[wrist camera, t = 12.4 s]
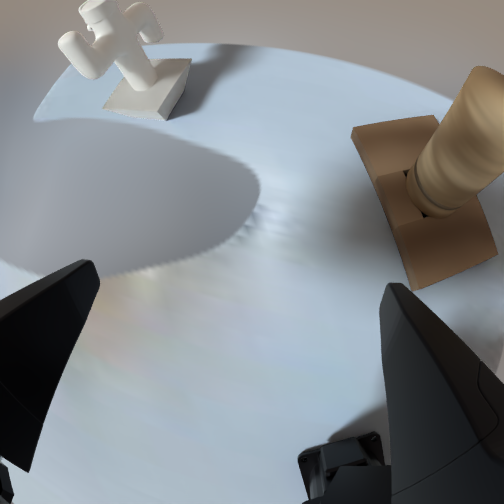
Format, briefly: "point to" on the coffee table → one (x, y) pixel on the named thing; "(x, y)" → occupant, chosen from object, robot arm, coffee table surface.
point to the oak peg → (462, 148)
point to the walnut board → (409, 216)
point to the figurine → (127, 59)
